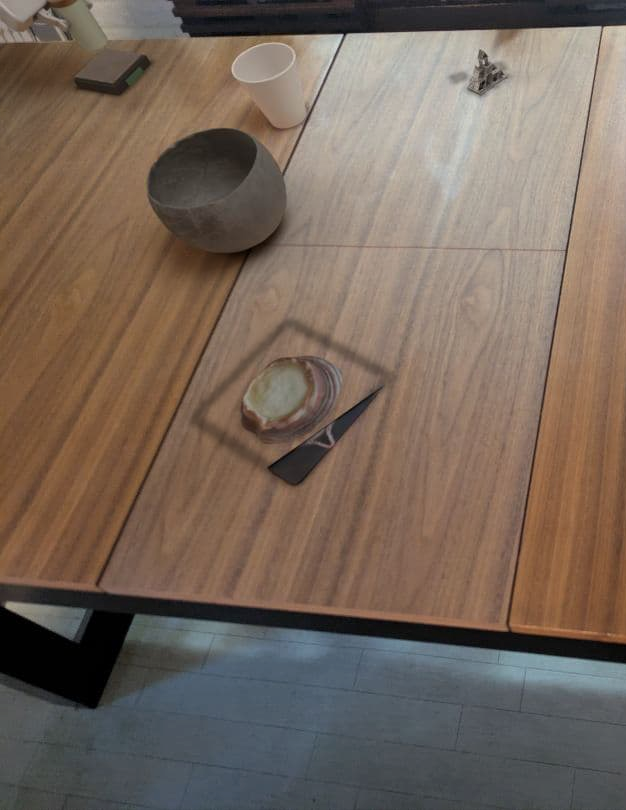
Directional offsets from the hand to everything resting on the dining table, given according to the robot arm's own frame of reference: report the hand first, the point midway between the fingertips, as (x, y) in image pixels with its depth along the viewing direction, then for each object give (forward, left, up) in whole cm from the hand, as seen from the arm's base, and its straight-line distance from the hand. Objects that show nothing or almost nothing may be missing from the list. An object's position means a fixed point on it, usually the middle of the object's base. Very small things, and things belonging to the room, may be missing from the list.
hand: (79, 18), depth 139 cm
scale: (0, +1, -13) cm, 13 cm away
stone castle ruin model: (+54, -59, -14) cm, 81 cm away
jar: (0, +1, -5) cm, 5 cm away
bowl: (-1, -61, -14) cm, 63 cm away
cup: (+20, -40, -14) cm, 47 cm away
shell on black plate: (-12, -98, -14) cm, 100 cm away
